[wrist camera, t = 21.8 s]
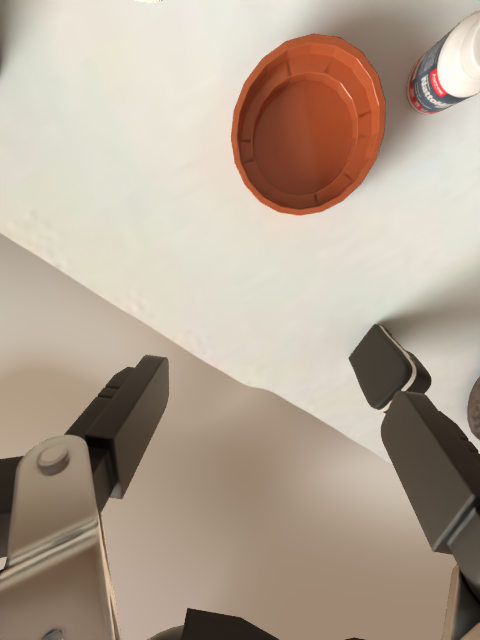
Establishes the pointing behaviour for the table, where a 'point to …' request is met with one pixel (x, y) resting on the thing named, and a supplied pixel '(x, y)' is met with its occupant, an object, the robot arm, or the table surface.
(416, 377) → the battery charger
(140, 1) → the lidded bowl
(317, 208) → the terracotta bowl
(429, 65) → the pill bottle
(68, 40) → the table surface
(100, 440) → the robot arm
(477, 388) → the stone
